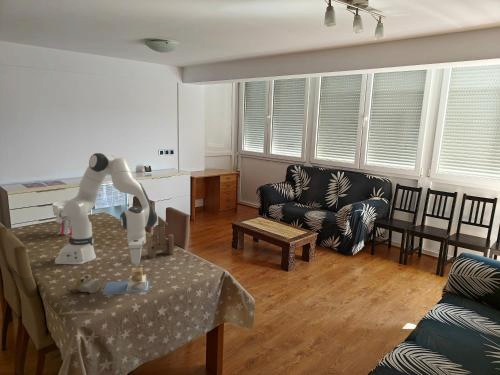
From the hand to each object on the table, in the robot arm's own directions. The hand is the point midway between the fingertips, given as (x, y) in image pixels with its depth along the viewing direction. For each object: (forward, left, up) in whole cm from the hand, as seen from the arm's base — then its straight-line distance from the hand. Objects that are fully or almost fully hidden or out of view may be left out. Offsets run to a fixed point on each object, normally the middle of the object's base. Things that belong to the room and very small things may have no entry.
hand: (137, 265), depth 181 cm
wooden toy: (+11, +45, -13) cm, 48 cm away
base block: (0, 0, -11) cm, 11 cm away
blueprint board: (-5, 0, -12) cm, 13 cm away
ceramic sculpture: (-25, 0, -13) cm, 28 cm away
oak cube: (0, 0, -7) cm, 7 cm away
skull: (-55, +95, -13) cm, 111 cm away
